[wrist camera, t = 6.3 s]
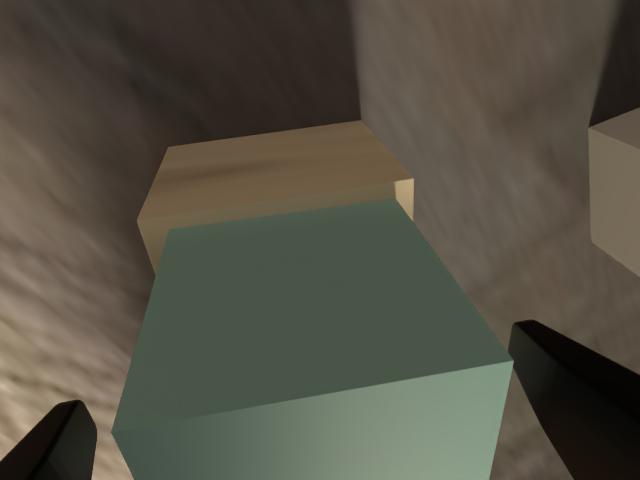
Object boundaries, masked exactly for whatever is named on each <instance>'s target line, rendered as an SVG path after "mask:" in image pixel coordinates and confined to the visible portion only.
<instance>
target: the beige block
mask: <svg viewBox="0 0 640 480" xmlns="http://www.w3.org/2000/svg"><path fill="white" fill-rule="evenodd" d="M588 136H589V178H590V220H591V242H593V243H594V244H595V245H597V246H598V247H600V248H601V249H602V250H604V251H605V252H606V253H608V254H609V255H610V256H612V257H613V258H615V259H616V260H617V261H619V262H620V263H621V264H623V265H624V266H625V267H627V268H628V269H630V270H631V271H632V272H634V273H635V274H636V275H638V276H639V277H640V107H639V108H637V109H634V110H632V111H629V112H627V113H624V114H622V115H619V116H617V117H614V118H612V119H609V120H607V121H604V122H602V123H599V124H597V125H594V126H591V127H589V128H588Z"/></svg>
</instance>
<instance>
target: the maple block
mask: <svg viewBox="0 0 640 480" xmlns="http://www.w3.org/2000/svg"><path fill="white" fill-rule="evenodd" d="M413 195H414V178H413V177H412V176H411V175H410V174H409V173H408V172H407V170H406V169H405V168H404V167H403V166H402V165H401V164H400V163H399V162H398V160H397V159H396V158H395V157H394V156H393V155H392V154H391V153H390V152H389V150H388V149H387V148H386V147H385V146H384V145H383V144H382V143H381V141H380V140H379V139H378V138H377V137H376V136H375V135H374V134H373V133H372V131H371V130H370V129H369V128H368V127H367V126H366V125H365V124H364V123H363V121H362V120H359V121H352V122H345V123H337V124H330V125H323V126H316V127H308V128H301V129H294V130H287V131H280V132H272V133H265V134H258V135H251V136H244V137H236V138H229V139H222V140H215V141H207V142H200V143H193V144H186V145H179V146H171V147H168V149H167V151H166V154H165V156H164V158H163V160H162V163H161V165H160V167H159V170H158V172H157V174H156V177H155V179H154V181H153V184H152V186H151V188H150V191H149V193H148V195H147V198H146V200H145V202H144V204H143V207H142V209H141V211H140V214H139V216H138V218H137V224H138V227H139V230H140V233H141V236H142V238H143V241H144V244H145V247H146V250H147V253H148V256H149V259H150V261H151V264H152V267H153V270H154V273H155V276H156V273H157V270H158V266H159V263H160V259H161V256H162V252H163V249H164V245H165V242H166V238H167V235H168V231H169V229H176V228H183V227H191V226H198V225H205V224H213V223H220V222H227V221H235V220H242V219H249V218H257V217H264V216H271V215H279V214H286V213H293V212H301V211H308V210H316V209H323V208H330V207H338V206H345V205H352V204H360V203H367V202H374V201H382V200H389V199H397V201H398V202H399V204H400V205H401V206H402V208H403V209H404V210H405V212H406V213H407V215H408V216H409V217H410V219H411V220H412V221H413Z"/></svg>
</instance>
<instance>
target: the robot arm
mask: <svg viewBox="0 0 640 480" xmlns="http://www.w3.org/2000/svg"><path fill="white" fill-rule="evenodd" d="M508 353H509V355H510V356H511V357H512V359H513V360H514V363H513V369H514V371H515V373H516V375H517V377H518V379H519V381H520V383H521V385H522V387H523V389H524V391H525V394H526V396H527V398H528V400H529V402H530V404H531V406H532V408H533V410H534V412H535V414H536V416H537V418H538V420H539V422H540V424H541V426H542V428H543V429H544V431H545V433H546V435H547V436H548V438H549V440H550V441H551V443H552V445H553V446H554V448H555V449H556V451H557V453H558V454H559V456H560V458H561V459H562V461H563V463H564V464H565V466H566V467H567V469H568V471H569V472H570V474H571V476H572V477H573V479H574V480H640V375H639V374H637V373H635V372H633V371H632V370H630V369H628V368H626V367H624V366H622V365H620V364H618V363H616V362H614V361H612V360H610V359H608V358H607V357H605V356H603V355H601V354H599V353H597V352H595V351H593V350H591V349H589V348H587V347H585V346H584V345H582V344H580V343H578V342H576V341H574V340H572V339H570V338H568V337H566V336H564V335H562V334H561V333H559V332H557V331H555V330H553V329H551V328H549V327H547V326H545V325H543V324H541V323H539V322H537V321H535V320H524V321H519V322H515V323H514V324H513V325H512V329H511V334H510V340H509V345H508ZM96 441H97V428H96V425H95V423H94V421H93V419H92V417H91V415H90V413H89V411H88V410H87V408H86V406H85V404H84V403H83V402H82V401H81V400H72V401H67V402H61V403H59V404H57V405H56V406H55V407H53V408H52V409H51V410H50V411H49V412H48V414H47V415H46V416H45V417H44V418H43V419H42V420H41V421H40V422H39V423H38V424H37V425H36V426H35V427H34V428H33V429H32V430H31V431H30V432H29V433H28V434H27V435H26V436H25V437H24V438H23V439H22V440H21V441H20V442H19V443H18V444H17V445H16V446H15V447H14V448H13V449H12V450H11V451H10V452H9V453H8V454H7V455H6V456H5V457H4V458H3V459H2V460H1V461H0V480H91V478H92V470H93V463H94V456H95V449H96Z"/></svg>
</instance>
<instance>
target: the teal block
mask: <svg viewBox="0 0 640 480" xmlns="http://www.w3.org/2000/svg"><path fill="white" fill-rule="evenodd" d="M513 363H514V360H513V359H512V357H511V356H510V355H509V353H508V352H507V350H506V349H505V348H504V346H503V345H502V344H501V342H500V341H499V339H498V338H497V337H496V335H495V334H494V333H493V331H492V330H491V328H490V327H489V326H488V324H487V323H486V322H485V320H484V319H483V317H482V316H481V315H480V313H479V312H478V311H477V309H476V308H475V306H474V305H473V304H472V302H471V301H470V300H469V298H468V297H467V296H466V294H465V293H464V291H463V290H462V289H461V287H460V286H459V285H458V283H457V282H456V280H455V279H454V278H453V276H452V275H451V274H450V272H449V271H448V269H447V268H446V267H445V265H444V264H443V263H442V261H441V260H440V258H439V257H438V256H437V254H436V253H435V252H434V250H433V249H432V247H431V246H430V245H429V243H428V242H427V241H426V239H425V238H424V236H423V235H422V234H421V232H420V231H419V230H418V228H417V227H416V226H415V224H414V223H413V221H412V220H411V219H410V217H409V216H408V215H407V213H406V212H405V210H404V209H403V208H402V206H401V205H400V204H399V202H398V201H397V199H389V200H382V201H374V202H367V203H360V204H352V205H345V206H338V207H330V208H323V209H316V210H308V211H301V212H293V213H286V214H279V215H271V216H264V217H257V218H249V219H242V220H235V221H227V222H220V223H213V224H205V225H198V226H191V227H183V228H176V229H169V231H168V235H167V238H166V242H165V245H164V249H163V252H162V256H161V259H160V263H159V266H158V270H157V273H156V277H155V280H154V284H153V287H152V291H151V294H150V298H149V302H148V305H147V309H146V312H145V316H144V319H143V323H142V326H141V330H140V333H139V337H138V340H137V344H136V347H135V351H134V354H133V358H132V361H131V365H130V368H129V372H128V375H127V379H126V382H125V386H124V389H123V393H122V396H121V400H120V403H119V407H118V410H117V414H116V417H115V421H114V425H113V428H112V432H111V433H112V435H113V437H114V439H115V441H116V443H117V445H118V447H119V449H120V451H121V453H122V455H123V457H124V459H125V461H126V463H127V465H128V467H129V469H130V471H131V474H132V476H133V478H134V480H489V477H490V472H491V467H492V462H493V458H494V453H495V448H496V443H497V439H498V434H499V429H500V424H501V420H502V415H503V410H504V405H505V401H506V396H507V391H508V386H509V382H510V377H511V372H512V367H513Z"/></svg>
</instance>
